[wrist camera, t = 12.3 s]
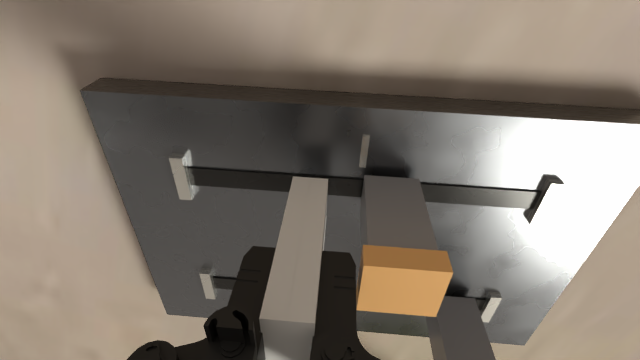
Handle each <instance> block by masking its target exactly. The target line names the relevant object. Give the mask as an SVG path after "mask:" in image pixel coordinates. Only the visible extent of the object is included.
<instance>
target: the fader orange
mask: <svg viewBox="0 0 640 360" xmlns="http://www.w3.org/2000/svg"><path fill="white" fill-rule="evenodd" d="M360 233H361V260H360V267H359V274H358V280H357V287H356V310H359V311H371V312H383V313H395V314H406V315H418V316H430V317H436V315H437V313H438V310H439V308H440V305H441V303H442V300H443V298H444V295H445V293H446V290H447V288H448V285H449V283H450V280H451V278H452V275H453V270H452V266H451V263H450V259H449V256H448V253H447V251H439V250H438V247H437V243H436V240H435V236H434V232H433V229H432V225H431V221H430V218H429V214H428V210H427V207H426V203H425V199H424V195H423V192H422V188H421V184H420V181H419V179H414V178H400V177H385V176H371V175H364V181H363V189H362V197H361V204H360Z"/></svg>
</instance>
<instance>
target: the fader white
mask: <svg viewBox="0 0 640 360" xmlns="http://www.w3.org/2000/svg"><path fill="white" fill-rule="evenodd" d="M425 317H426V322H427V327H428V333H429V338H430V343H431V348H432V354H433V359H434V360H496V359H495V356H494V353H493V350H492V347H491V345H490V342H489V339H488V336H487V333H486V330H485V327H484V324H483V321H482V318H481V315H480V312H479V309H478V306H477V303H476V300H475V298H464V297H451V296H444V298H443V300H442V303H441V305H440V308H439V310H438V313H437V315H436V317H430V316H425Z"/></svg>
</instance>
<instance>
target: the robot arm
mask: <svg viewBox="0 0 640 360" xmlns="http://www.w3.org/2000/svg"><path fill="white" fill-rule="evenodd" d="M327 194H328V179H323V178H309V177H294V176H293V179H292V183H291V187H290V191H289V196H288V200H287V204H286V208H285V212H284V216H283V221H282V225H281V229H280V233H279V237H278V242H277V246H276V248H274V247H261V246H252V247H251V248H250V250H249V251H248V252H247V253H246V254H245V255H244V256H243V260H242V263H241V266H240V269H239V272H238V275H237V278H236V282H235V284H234V287H233V290H232V293H231V296H230V299H229V302H228V305H227V307H223V308H221V309H219V310H216V311H215V312H214V313H213V314H212V315H211V316H209V317H208V319H207V321H206V322H205V324H204V329H205V332H206V336H207V338H205V339H203V340H201V341H198V342H195V343H191V344H187V345H183V346H178V347H174V346H172V345H171V344H170V343H168V342H166V341H159V340H157V341H153V342H149V343H146V344H145V345H143V346H141V347H139V348H138V349H137V350H136V351H135V352H134V353H133V354H132V355H131V356H130V357H129V358H128V359H127V360H380V359H378V358H376V357H374V356H372V355H371V354H369V353H368V352H367V351H366V350H365V349H364V348H363V346H362V345H361V343H360V341H359V339H358V336H357V322H356V264H355V262H354V260H353V258H352V256H351V254H350V253H348V252H335V251H324V240H325V229H326V212H327Z"/></svg>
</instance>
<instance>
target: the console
mask: <svg viewBox="0 0 640 360" xmlns="http://www.w3.org/2000/svg"><path fill="white" fill-rule="evenodd" d="M80 92H81V95H82V97H83V100H84V102H85V105H86V108H87V110H88V113H89V115H90V118H91V120H92V123H93V126H94V128H95V131H96V133H97V136H98V138H99V141H100V143H101V146H102V149H103V151H104V154H105V156H106V159H107V161H108V164H109V166H110V169H111V172H112V174H113V177H114V179H115V182H116V184H117V187H118V190H119V192H120V195H121V197H122V200H123V202H124V205H125V207H126V210H127V213H128V215H129V218H130V220H131V223H132V225H133V228H134V230H135V233H136V236H137V238H138V241H139V243H140V246H141V248H142V251H143V254H144V256H145V259H146V261H147V264H148V266H149V269H150V271H151V274H152V277H153V279H154V282H155V284H156V287H157V289H158V292H159V294H160V297H161V300H162V302H163V305H164V307H165V310H166V312H167V314H169V315H180V316H192V317H203V318H208V317H209V316H211V315H212V314H213V313H214V312H215V311H216V310H219V309H221V308H223V307H227V305H228V302H229V299H230V296H231V293H232V290H233V287H234V284H235V282H236V278H237V275H238V272H239V269H240V266H241V263H242V260H243V256H244V255H245V254H246V253H247V252H248V251H249V250H250V248H251V247H252V246H261V247H274V248H276V246H277V242H278V237H279V233H280V229H281V225H282V221H283V216H284V212H285V208H286V204H287V200H288V196H289V191H290V187H291V183H292V179H293V176H294V177H309V178H323V179H328V194H327V212H326V229H325V240H324V251H335V252H348V253H350V254H351V256H352V258H353V260H354V262H355V264H356V287H357V280H358V274H359V267H360V260H361V233H360V204H361V197H362V189H363V181H364V175H371V176H385V177H400V178H414V179H419V181H420V184H421V188H422V192H423V195H424V199H425V203H426V207H427V210H428V214H429V218H430V221H431V225H432V229H433V232H434V236H435V240H436V243H437V247H438V250H439V251H447V253H448V256H449V259H450V263H451V266H452V270H453V275H452V278H451V280H450V283H449V285H448V288H447V290H446V293H445V295H444V296H451V297H464V298H475V300H476V303H477V306H478V309H479V312H480V315H481V318H482V321H483V324H484V327H485V330H486V333H487V336H488V339H489V342H491V343H502V344H514V345H525V344H526V342H527V341H528V339H529V338H530V337H531V335H532V334H533V332H534V331H535V330H536V328H537V327H538V325H539V324H540V323H541V321H542V320H543V318H544V317H545V316H546V314H547V313H548V311H549V310H550V309H551V307H552V306H553V304H554V303H555V302H556V300H557V299H558V297H559V296H560V295H561V293H562V292H563V290H564V289H565V288H566V286H567V285H568V283H569V282H570V281H571V279H572V278H573V276H574V275H575V274H576V272H577V271H578V270H579V268H580V267H581V265H582V264H583V263H584V261H585V260H586V258H587V257H588V256H589V254H590V253H591V251H592V250H593V249H594V247H595V246H596V244H597V243H598V242H599V240H600V239H601V237H602V236H603V235H604V233H605V232H606V230H607V229H608V228H609V226H610V225H611V223H612V222H613V221H614V219H615V218H616V216H617V215H618V214H619V212H620V211H621V209H622V208H623V207H624V205H625V204H626V202H627V201H628V200H629V198H630V197H631V195H632V194H633V193H634V191H635V190H636V188H637V187H638V186H639V184H640V110H636V109H619V108H602V107H585V106H568V105H551V104H534V103H517V102H500V101H483V100H466V99H449V98H432V97H415V96H398V95H381V94H364V93H347V92H330V91H313V90H296V89H279V88H262V87H245V86H228V85H211V84H194V83H177V82H160V81H143V80H126V79H109V78H100V79H98V80H97V81H95V82H93V83H92V84H90V85H88V86H87V87H85V88H83V89H82V90H80ZM356 322H357V331H364V332H376V333H387V334H399V335H410V336H422V337H429V333H428V327H427V322H426V317H425V316H418V315H406V314H395V313H383V312H371V311H359V310H356Z"/></svg>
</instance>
